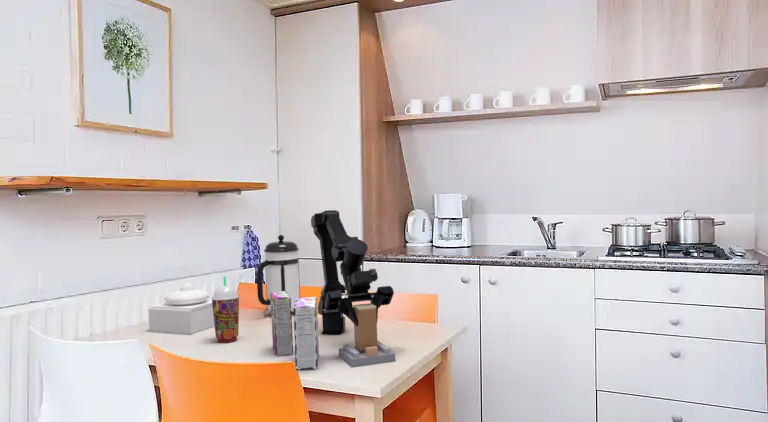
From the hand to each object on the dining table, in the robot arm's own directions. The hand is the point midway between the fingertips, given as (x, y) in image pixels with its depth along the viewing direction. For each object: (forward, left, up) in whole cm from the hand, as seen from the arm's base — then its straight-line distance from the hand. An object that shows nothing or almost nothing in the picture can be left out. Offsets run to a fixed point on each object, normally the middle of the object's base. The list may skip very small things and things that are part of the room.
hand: (366, 323), depth 158 cm
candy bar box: (-27, +8, -10) cm, 29 cm away
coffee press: (-45, +58, -10) cm, 73 cm away
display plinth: (-1, +1, -10) cm, 10 cm away
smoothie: (-49, +19, -10) cm, 53 cm away
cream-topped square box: (-1, +1, -7) cm, 7 cm away
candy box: (-16, -3, -10) cm, 19 cm away
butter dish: (-71, +36, -10) cm, 81 cm away
